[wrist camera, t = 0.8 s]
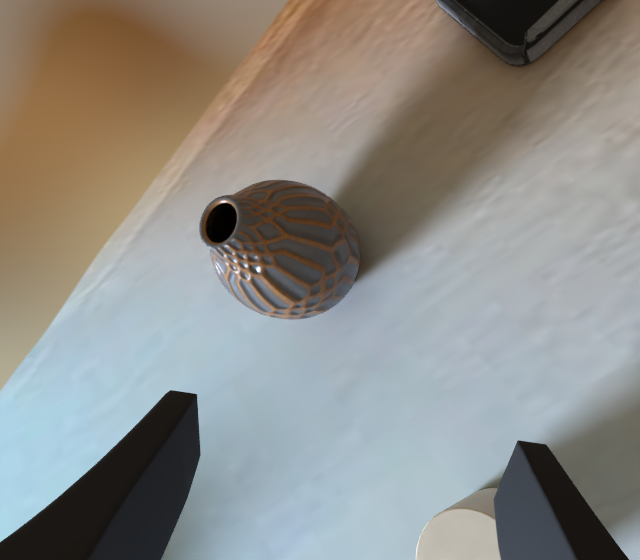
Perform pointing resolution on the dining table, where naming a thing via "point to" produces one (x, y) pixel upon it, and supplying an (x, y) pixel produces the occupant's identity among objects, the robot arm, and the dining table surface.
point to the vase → (282, 248)
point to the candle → (462, 531)
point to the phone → (517, 24)
